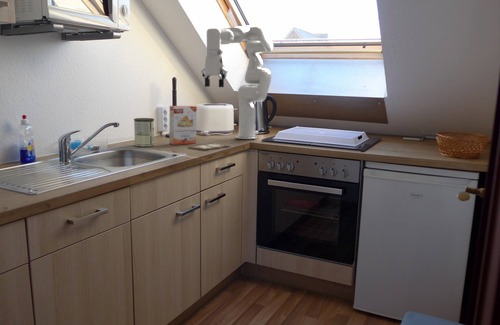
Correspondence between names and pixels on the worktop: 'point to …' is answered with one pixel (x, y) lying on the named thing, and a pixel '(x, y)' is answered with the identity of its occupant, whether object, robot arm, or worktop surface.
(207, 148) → the walnut board
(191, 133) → the cracker box
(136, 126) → the coffee can
